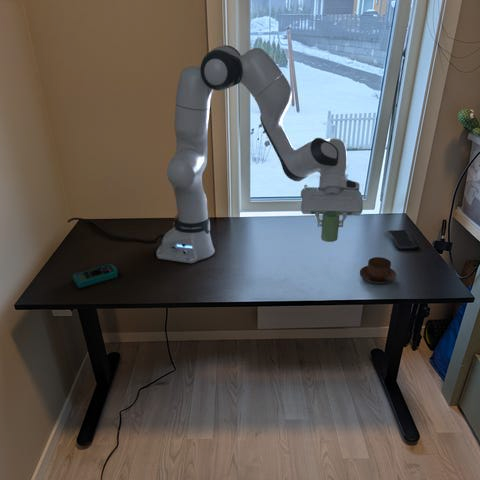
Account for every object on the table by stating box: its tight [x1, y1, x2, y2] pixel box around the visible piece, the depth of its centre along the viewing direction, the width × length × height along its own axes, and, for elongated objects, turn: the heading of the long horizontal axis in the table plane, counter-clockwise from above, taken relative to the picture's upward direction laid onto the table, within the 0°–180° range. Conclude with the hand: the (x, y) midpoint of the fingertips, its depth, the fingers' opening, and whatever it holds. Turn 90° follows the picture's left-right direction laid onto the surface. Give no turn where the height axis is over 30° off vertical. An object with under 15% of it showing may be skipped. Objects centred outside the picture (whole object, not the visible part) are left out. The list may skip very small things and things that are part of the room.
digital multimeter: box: [72, 263, 119, 289], centre depth 163 cm, size 7×15×3 cm, turn 122°
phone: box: [386, 229, 418, 251], centre depth 180 cm, size 8×1×15 cm
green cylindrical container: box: [320, 212, 341, 243], centre depth 153 cm, size 5×5×8 cm
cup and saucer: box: [359, 256, 397, 285], centre depth 156 cm, size 12×12×6 cm
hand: (330, 226), depth 152 cm, fingers closed on green cylindrical container, 5 cm apart
